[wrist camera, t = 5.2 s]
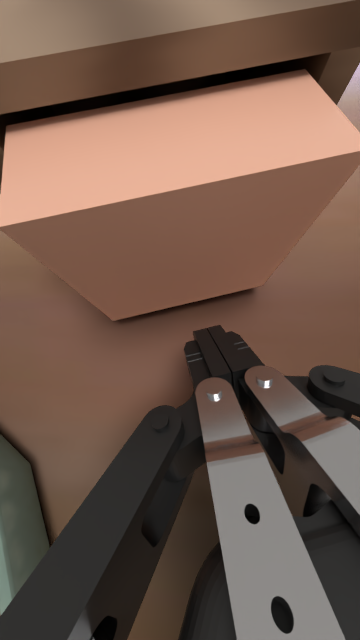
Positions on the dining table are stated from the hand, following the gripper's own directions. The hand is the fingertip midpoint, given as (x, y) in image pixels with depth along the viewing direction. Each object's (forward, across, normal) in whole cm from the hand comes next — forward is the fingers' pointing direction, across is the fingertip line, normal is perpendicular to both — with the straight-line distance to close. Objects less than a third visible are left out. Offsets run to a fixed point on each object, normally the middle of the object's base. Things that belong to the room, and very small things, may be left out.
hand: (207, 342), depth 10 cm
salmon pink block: (+8, 0, -4) cm, 9 cm away
